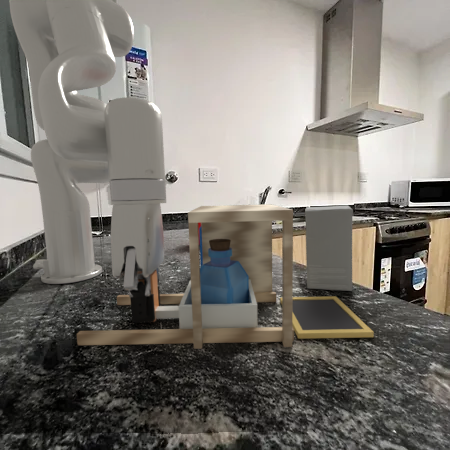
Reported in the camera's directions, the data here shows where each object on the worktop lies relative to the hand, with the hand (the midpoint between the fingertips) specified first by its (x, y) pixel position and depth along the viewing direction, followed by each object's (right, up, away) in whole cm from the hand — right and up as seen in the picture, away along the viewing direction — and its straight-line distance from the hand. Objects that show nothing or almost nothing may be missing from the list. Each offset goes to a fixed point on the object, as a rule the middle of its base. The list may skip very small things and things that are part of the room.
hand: (147, 315), depth 39 cm
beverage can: (+9, +2, +23) cm, 25 cm away
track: (+7, -1, 0) cm, 7 cm away
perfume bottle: (+11, -1, 0) cm, 11 cm away
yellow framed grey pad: (+26, 0, 0) cm, 26 cm away
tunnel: (+14, 0, 0) cm, 14 cm away
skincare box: (+32, +1, +13) cm, 35 cm away
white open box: (+7, 0, 0) cm, 7 cm away
